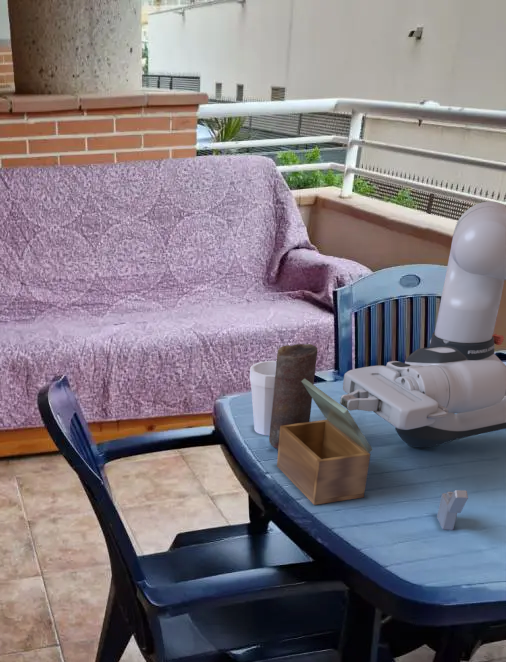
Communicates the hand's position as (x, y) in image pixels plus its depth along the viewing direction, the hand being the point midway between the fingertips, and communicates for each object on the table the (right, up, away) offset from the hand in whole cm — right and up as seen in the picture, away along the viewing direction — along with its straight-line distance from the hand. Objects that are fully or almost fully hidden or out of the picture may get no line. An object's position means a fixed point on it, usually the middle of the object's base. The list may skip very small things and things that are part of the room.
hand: (344, 402), depth 126 cm
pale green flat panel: (-1, -2, +1) cm, 3 cm away
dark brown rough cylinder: (-5, -5, +20) cm, 21 cm away
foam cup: (-6, -1, +28) cm, 28 cm away
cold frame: (-2, -13, +7) cm, 15 cm away
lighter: (+14, -22, -8) cm, 27 cm away
